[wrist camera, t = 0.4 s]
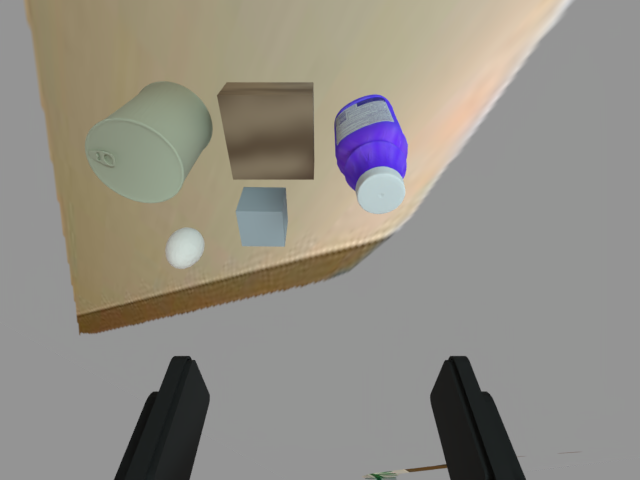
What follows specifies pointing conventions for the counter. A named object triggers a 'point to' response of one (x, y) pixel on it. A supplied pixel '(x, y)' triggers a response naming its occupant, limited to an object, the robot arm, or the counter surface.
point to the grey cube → (262, 216)
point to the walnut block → (269, 129)
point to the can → (150, 142)
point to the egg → (184, 248)
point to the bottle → (372, 152)
